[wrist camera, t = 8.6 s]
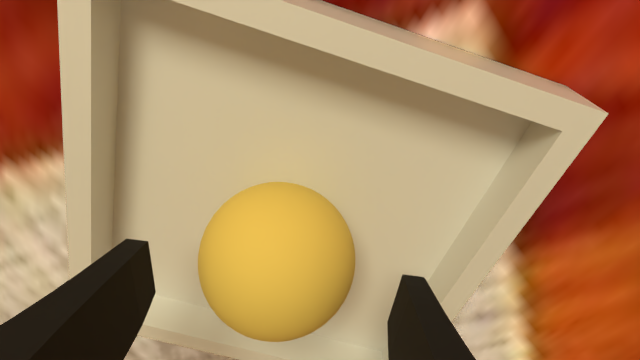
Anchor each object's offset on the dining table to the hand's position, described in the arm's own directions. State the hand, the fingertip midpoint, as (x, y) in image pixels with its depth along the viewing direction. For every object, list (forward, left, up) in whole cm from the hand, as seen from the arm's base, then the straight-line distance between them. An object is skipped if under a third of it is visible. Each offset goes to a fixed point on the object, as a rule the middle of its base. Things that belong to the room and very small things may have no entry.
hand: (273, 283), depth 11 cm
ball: (0, 0, -4) cm, 4 cm away
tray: (0, 0, -4) cm, 4 cm away
